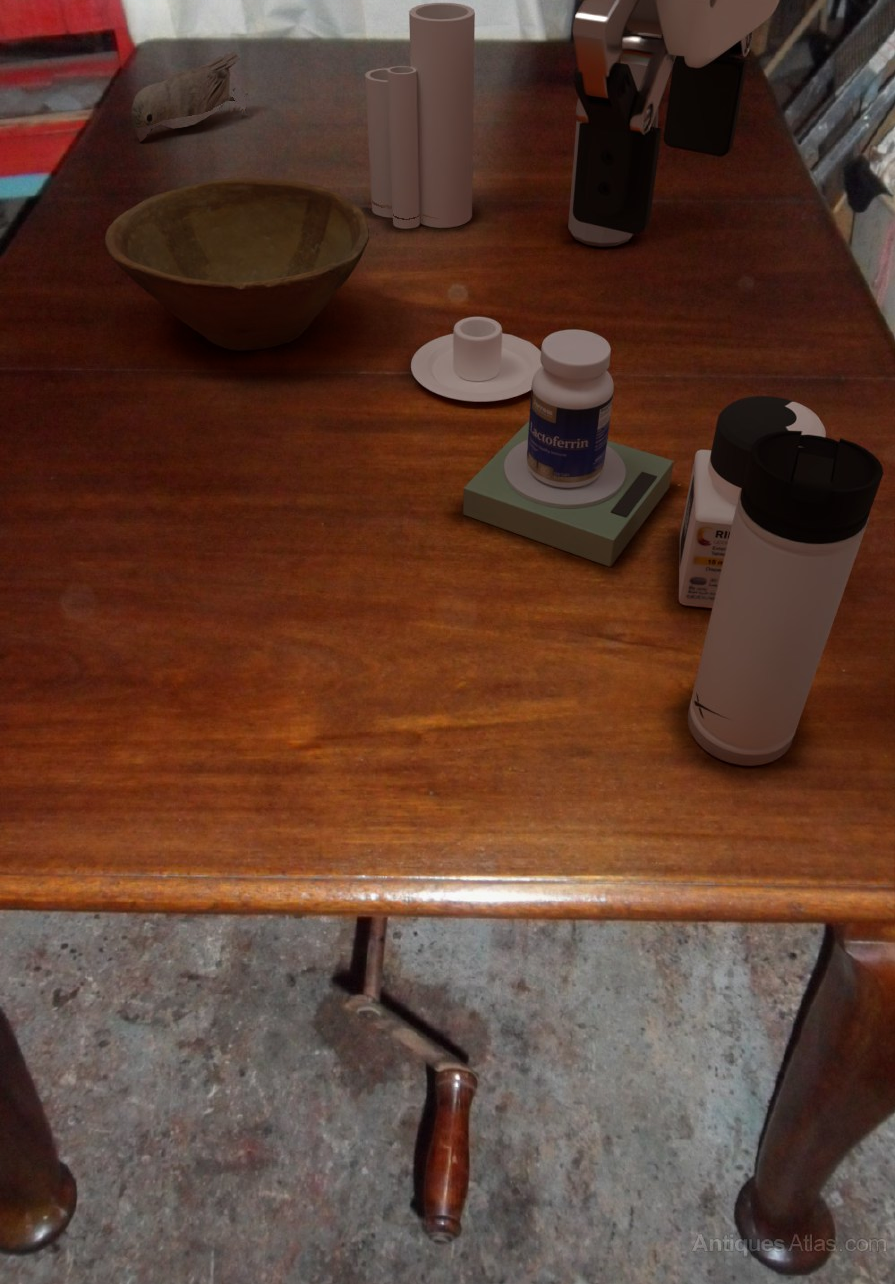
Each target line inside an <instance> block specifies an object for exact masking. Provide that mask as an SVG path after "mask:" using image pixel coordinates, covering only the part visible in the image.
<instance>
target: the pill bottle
mask: <svg viewBox="0 0 895 1284" xmlns="http://www.w3.org/2000/svg"><path fill="white" fill-rule="evenodd" d="M540 351H541V357H540V361H541V364H542V366H541V367H540V368H539V369H538V370H537V372H536V373H535V375H534V377H533V380H532V387H531V390H530V401H529V402H530V403H529V417H528V421H529V431H528V446H527V466H528V468H529V470H530V472H531V473H532V474H533V476H534V477H536V478H537V479H538V480H540V481H541V482H543V483H546V484H548V485H552V486H556V487H565V488H572V487H579V486H583V485H586V484H589V483H591V482H592V481H594V480H595V479H597V478H598V477H599V475H600V474H601V472H602V470H603V467H604V462H605V454H606V447H607V440H609V439H608V437H609V431H610V424H611V417H612V416H611V415H612V406H613V399H614V393H615V392H614V391H615V390H614V389H615V383H614V380H613V378H612V375H611V374H610V372H608V371H609V367H610V365H611V362H610V361H611V353H612V348H611V346H610V343H609V342H608V341H607V340H606V338H604V337H603V336H601V335H599V334H597V333H595V332H592V331H588V330H583V329H563V330H559V331H554V332H553V333H550V334H548V335H547V336H546V337H545V338H544V339H543V341H542V344H541V348H540Z"/></svg>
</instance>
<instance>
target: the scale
mask: <svg viewBox="0 0 895 1284" xmlns="http://www.w3.org/2000/svg"><path fill="white" fill-rule="evenodd" d="M528 431H529V420H528V421H526V423H525V424H524V425H523V426H521V428H520V429H519V430H518V431H517V432H516V433H515V434H514V435H513V436H512V437H511V439H509V441H508V442H507V443H505V444H504V446H503V447H502V448H501V449H499V450H498V452H496V454H494V456H493V457H492V458H491V459H490V460H489V461H488V462H487V463H486V464H485V465H484V466H483V467H482V468H481V469H480V470H479V471H478V472H477V473H476V475H475V476H473V477H472V479H470V481H468V482H467V484H466V485H465V486H464V487H463V499H462V501H463V505H462V506H463V507H462V508H463V510H462V511H463V516H466V517H469V518H472V519H475V520H477V521H479V522H483V523H485V524H487V525H491V526H494V527H497V528H499V529H501V530H505V531H508V532H511V533H514V534H516V535H519V536H522V537H525V538H528V539H530V540H533V541H536V542H538V543H542V544H544V545H547V546H550V547H552V548H556V549H558V550H561V551H564V552H566V553H570V554H572V555H575V556H577V557H581V558H584V559H586V560H589V561H592V562H594V563H598V564H600V565H602V566H605V567H608V568H611V567H612V566H613V565H614V563H615V562H616V560H617V559H618V558H619V556H620V555H621V553H622V552H623V551H624V549H626V547H627V545H628V544H629V543H630V541H631V540H632V538H633V537H634V536H635V535H636V533H637V532H638V530H639V529H640V528H641V526H642V525H643V524H644V523H645V521H646V519H647V518H648V517H649V516H650V514H651V513H652V511H653V510H654V509H655V507H656V506H657V505H658V504H659V502H660V500H661V499H662V498H663V497H664V495H665V494H666V493H667V492H668V490H669V488H670V487H671V480H672V474H673V470H674V464H675V461H674V460H672V459H669V458H666V457H663V456H659V455H657V454H654V453H650V452H647V451H644V450H641V449H638V448H634V447H631V446H628V445H625V444H621V443H618V442H614V441H612V440H609V439H607V447H606V454H605V462H604V467H603V470H602V472H601V474H600V475H599V477H598V478H597V479H595V480H594V481H592V482H591V483H589V484H586V485H583V486H579V487H572V488H565V487H556V486H552V485H548V484H546V483H543V482H541V481H540V480H538V479H537V478H536V477H534V476H533V474H532V473H531V472H530V470H529V468H528V466H527V446H528Z"/></svg>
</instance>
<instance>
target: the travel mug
mask: <svg viewBox="0 0 895 1284" xmlns="http://www.w3.org/2000/svg"><path fill="white" fill-rule="evenodd" d="M801 434H802V431H779V432H774V433H770V434H767V435H765V436H763V437H761V438H759V439H758V440H757V441H755V442H754V444H753V446H752V447H751V451H750V455H749V460H748V464H747V468H746V472H745V479H744V482H743V485H742V488H741V490H740V493H739V497H738V504H737V506H736V510H735V514H734V519H733V523H732V527H731V531H730V536H729V540H728V544H727V548H726V553H725V557H724V561H723V566H722V570H721V574H720V578H719V583H718V587H717V591H716V596H715V600H714V604H713V608H711V613H710V618H709V621H708V626H707V630H706V634H705V639H704V643H703V647H702V651H701V657H700V660H699V664H698V669H697V673H696V678H695V680H694V681H695V682H694V686H693V690H692V696H691V699H690V702H689V707H688V711H687V726H688V729H689V731H690V734H691V736H692V737H693V739H694V740H695V742H696V743H697V744H698V745H699V746H700V747H701V748H702V749H703V750H704V751H705V752H707V753H709V754H710V755H711V756H713V757H715V758H717V759H719V760H721V761H724V762H727V763H728V764H733V765H738V766H747V767H749V766H750V767H753V766H762V765H765V764H769V763H772V762H775V761H776V760H778V759H780V758H781V757H782V756H783V755H785V754H787V752H788V751H789V749H790V748H791V746H792V743H793V740H794V737H795V735H796V731H797V728H798V726H799V722H800V720H801V717H802V714H803V711H804V708H805V706H806V703H807V700H808V697H809V694H810V691H811V688H812V686H813V682H814V679H815V677H816V673H817V671H818V668H819V665H820V662H821V659H822V657H823V654H824V650H825V648H826V644H827V642H828V640H829V636H830V633H831V630H832V628H833V624H834V621H835V620H836V619H835V618H836V616H837V613H838V610H839V608H840V604H841V601H842V598H843V595H844V593H845V590H846V587H847V584H848V581H849V578H850V575H851V572H852V570H853V567H854V564H855V560H856V558H857V555H858V552H859V549H860V546H861V543H862V541H863V538H864V535H865V531H866V529H867V526H868V523H869V520H870V515H871V510H872V508H873V506H874V502H875V499H876V497H877V493H878V491H879V487H880V485H881V481H882V479H883V476H884V468H883V465H882V464H881V462H880V460H879V459H878V458H877V457H876V456H875V455H874V454H873V453H872V452H871V451H869V450H868V449H867V448H865V447H863V446H861V445H860V444H858V443H855V442H853V441H850V440H847V439H844V438H841V437H840V438H839V440H836V439H834V438H830V437H827V436H825V437H822V436H815V435H801Z"/></svg>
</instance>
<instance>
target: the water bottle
mask: <svg viewBox="0 0 895 1284" xmlns="http://www.w3.org/2000/svg"><path fill="white" fill-rule="evenodd" d="M638 35H644V36H650V37H657V38H661V37H662V35H656V34H650V33H643V32H640V33H638ZM621 63H623V62H621ZM623 64H628V65H629V67H630V70H631V73H632V75H633V78H634V81H635V84H636V87H637V90H638V91H639V88H640V85H641V82H642V80H643V77H644V74H645V71H646V68H647V66H641V65H635V64H629V63H623ZM658 124H659V109H658V110H657V113H656V115H655V118H654V121H653V124H652V127H657V128H659V126H658ZM579 126H580V123H579V122H578V121H577V120H576V126H575V137H574V150H573V161H572V163H573V164H572V175H571V187H570V199H569V211H568V212H569V213H568V214H569V215H568V222H567V223H568V224H567V225H568V226H567V228H568V230H569V233H571V235H572V237H573V238H574V240H576V241H578V242H581V243H582V244H584V245H587V246H592V247H597V248H598V247H599V248H606V247H607V248H608V247H616V246H619V245H622V244H624V243H627V242H629V241H630V240H631V238H632V237H633V235H634V234H631V233H626V232H622V231H618V230H613V229H609V228H605V227H600V226H596V225H592V224H587V223H583V222H580V221H578V220H576V219H575V217H574V215H573V201H574V188H575V176H576V163H577V151H578V138H579Z"/></svg>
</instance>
